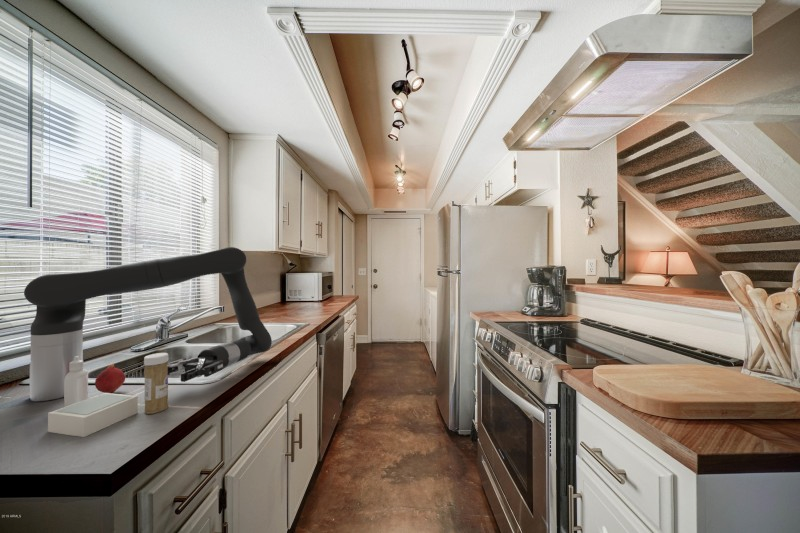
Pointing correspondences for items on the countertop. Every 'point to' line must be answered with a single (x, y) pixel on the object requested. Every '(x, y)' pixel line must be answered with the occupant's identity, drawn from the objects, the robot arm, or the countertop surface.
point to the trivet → (92, 414)
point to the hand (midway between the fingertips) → (168, 376)
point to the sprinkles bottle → (156, 382)
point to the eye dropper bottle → (75, 383)
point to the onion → (109, 380)
